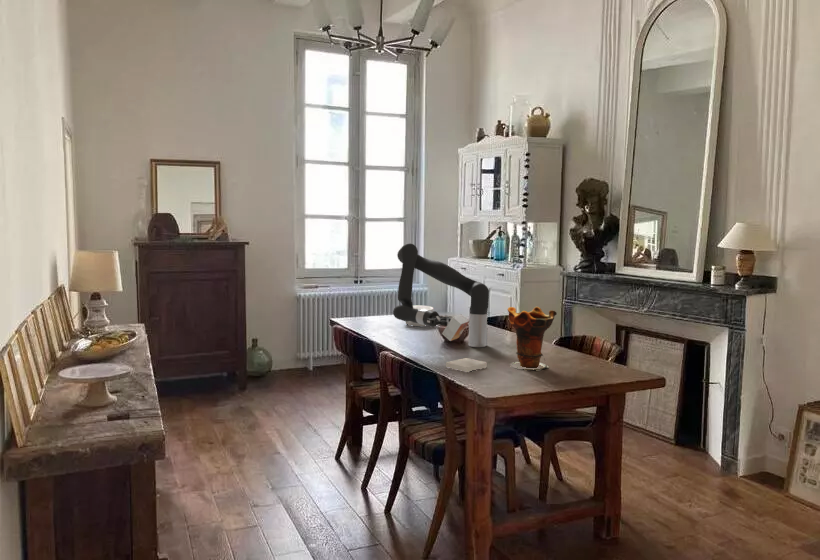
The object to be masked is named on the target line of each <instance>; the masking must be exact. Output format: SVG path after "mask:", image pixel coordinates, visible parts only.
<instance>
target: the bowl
mask: <svg viewBox="0 0 820 560" xmlns="http://www.w3.org/2000/svg"><path fill="white" fill-rule="evenodd" d="M413 308H415V309H422V310H430V311H434V307H433V306H430V305H421V304H420V305H416V304H415V305H413ZM405 324H408V325H413V326H424V327H426V326H425V325H422V324H418V323H414V322H411V321H408V322H406V321H405ZM408 325H407V326H408ZM413 326H412V327H413Z"/></svg>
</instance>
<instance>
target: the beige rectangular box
mask: <svg viewBox="0 0 820 560" xmlns="http://www.w3.org/2000/svg"><path fill="white" fill-rule="evenodd" d="M445 365H446V366H445V368H446V367H450V368H453V369H458V370H462V371H466V372H468V371H472V370H476V369H480V370H483V369H482V368H484V369H486V367H487V365H488V363H487V361H484V360H483V361H482V360H477V359H473V358H469V357H465V358H464V357H463V358H460V359H459V358H458V359H454V360H451V361H446V364H445ZM487 368H488V367H487ZM453 369H452V370H453ZM476 371H477V370H476ZM466 372H465V373H466ZM472 372H473V371H472ZM468 373H469V372H468Z"/></svg>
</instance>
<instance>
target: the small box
mask: <svg viewBox="0 0 820 560" xmlns="http://www.w3.org/2000/svg"><path fill="white" fill-rule="evenodd" d="M451 317H452V319H451V320H450V322H449V323H448V324H447V326H445V328H444V329H443V331H442V335H443V336H444V337H445V338H446V339H447V340H448V341H450V342H452V341H454V340H457V339H459V338H460V337H461V335H462V333H463V332H464V330H465V328H467V326H468V325H469V319H467V317H465V316H464V315H463V314H461V313H460V314H457V315H455V316H451Z"/></svg>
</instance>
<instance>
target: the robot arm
mask: <svg viewBox="0 0 820 560" xmlns="http://www.w3.org/2000/svg"><path fill="white" fill-rule="evenodd" d="M396 256H397V259H398V261H399V262H400V263H401V264H402V265H401V266H402V267H401V274H400V278H399V281H398V282H399V283H398V289H397V301H398V302H399V303H401V304H399V305H397V306H395V307H394V308H393V310H392V311H393V312H392V314H393V316H394V318H395V319H397V320H399V321H402V322H405V323H406V322H408V321H411V322H414V323H418V324H422V325H426V326H425V327H431V328H435V327H436V326H444V327H446V326H447V325H448V323H449V322H450V320H451V319H452V317H453V316H451V315H440V314H439V313H438V311H435V310H433V311H430V310H422V309H415V308H413V299H412V297H413V296H412V295H413V284H414V283H413V281H414V274H415V273H414V272H415V269H416V270H418V271H420V272H422V273H424V274H425V275H427V276H429V277H431V278H433V279H435V280H437V281H438V282H441V283H443V284H445V285H446V286H449V287H453V288H456V289H458V290H460V291H462V292H463V293H465V294H467V295H468V296H470V306H469V317H468V321H469V323H468V346H469V347H472V348H485V347H486V346H488V334H489V333H488V321H487V320H488V309H489V297H490V291H489V287H488V286H487V285H486V284H484V283H482V282H479V281H477V280H474V279H471V278H469V277H467V276H465V275H464V274H462V273H461V272H459V271H458V270H456V268H453V267H452V266H450V265H448V264H446V263H444V262H441V261H439V260H434V259H430V258H429V259H428V258H426V257H423V256H422V255H420V254H419V250H418V247H417V246H416V245H415V244H413V243H410V242H408V243H405V244H404V245H402V246H401V247H400V249H399V250H398V252H397V254H396Z"/></svg>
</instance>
